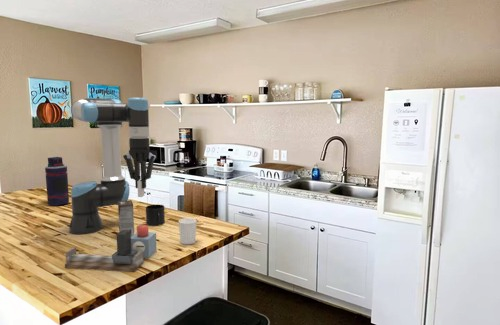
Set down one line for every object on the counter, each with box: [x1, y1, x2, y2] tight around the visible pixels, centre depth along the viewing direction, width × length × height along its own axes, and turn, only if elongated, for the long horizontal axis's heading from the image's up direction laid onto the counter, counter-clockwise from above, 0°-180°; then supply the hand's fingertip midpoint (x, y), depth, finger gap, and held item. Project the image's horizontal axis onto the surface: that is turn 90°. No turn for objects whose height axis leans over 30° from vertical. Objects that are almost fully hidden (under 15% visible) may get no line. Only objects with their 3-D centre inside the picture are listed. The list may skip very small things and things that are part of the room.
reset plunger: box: [136, 224, 149, 237], centre depth 139 cm, size 4×4×4 cm
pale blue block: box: [131, 231, 157, 260], centre depth 140 cm, size 8×9×8 cm
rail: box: [64, 246, 144, 273], centre depth 130 cm, size 28×8×6 cm, turn 84°
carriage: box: [111, 230, 137, 264], centre depth 128 cm, size 7×6×12 cm
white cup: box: [178, 217, 198, 245], centre depth 154 cm, size 8×8×10 cm
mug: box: [145, 203, 166, 227], centre depth 180 cm, size 9×12×9 cm
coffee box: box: [117, 199, 135, 237], centre depth 161 cm, size 9×6×16 cm
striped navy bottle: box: [44, 156, 70, 207], centre depth 216 cm, size 14×12×30 cm
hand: (141, 196), depth 138 cm, fingers closed
